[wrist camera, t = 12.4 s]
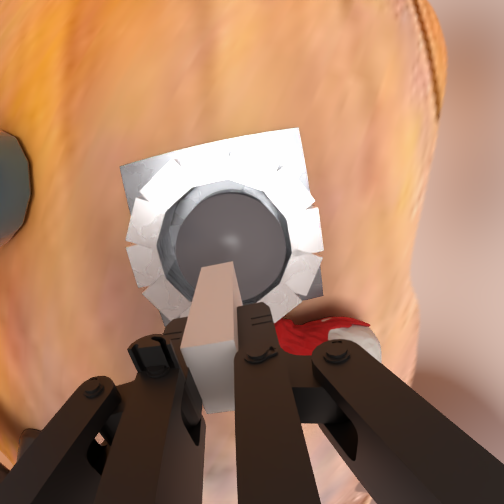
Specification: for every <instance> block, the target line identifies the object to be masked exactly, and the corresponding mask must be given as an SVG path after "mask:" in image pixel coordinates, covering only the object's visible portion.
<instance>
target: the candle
mask: <svg viewBox="0 0 504 504" xmlns="http://www.w3.org/2000/svg"><path fill="white" fill-rule="evenodd" d="M274 325H275V329H276V333H277V337H278V341H279V344H280V346H281V348H282V349H283V350H284V351H286V352H288V353H290V354H294V355H312V352H313V350H314V349H315V348H316V347H317V346H318V345H320V344H322V343H323V342H326V341H329V340H333V339H346V340H351V341H353V342H355V343H357V344H359V345H360V346H361V347H362V348H363V349H365V350H366V351H367V352H368V353H369V354H371V355H372V356H373V357H374V358H375V359H377V360H378V361H379V362H380V363H381V346H380V342H379V340H378V339H377V337H376V336H375V334H374V333H373V331H372V330H371V329H370V328H369V326H370V324H368V323H365V322H363V321H361V320H359V319H354V318H349V317H327V318H322V319H320V320H317V321H311V322H307V323H305V324H303V325H295V324H294V323H293V322H292V320H289V319H283V318H281V319H279V320H278V321H277V322H276V323H274Z"/></svg>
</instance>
